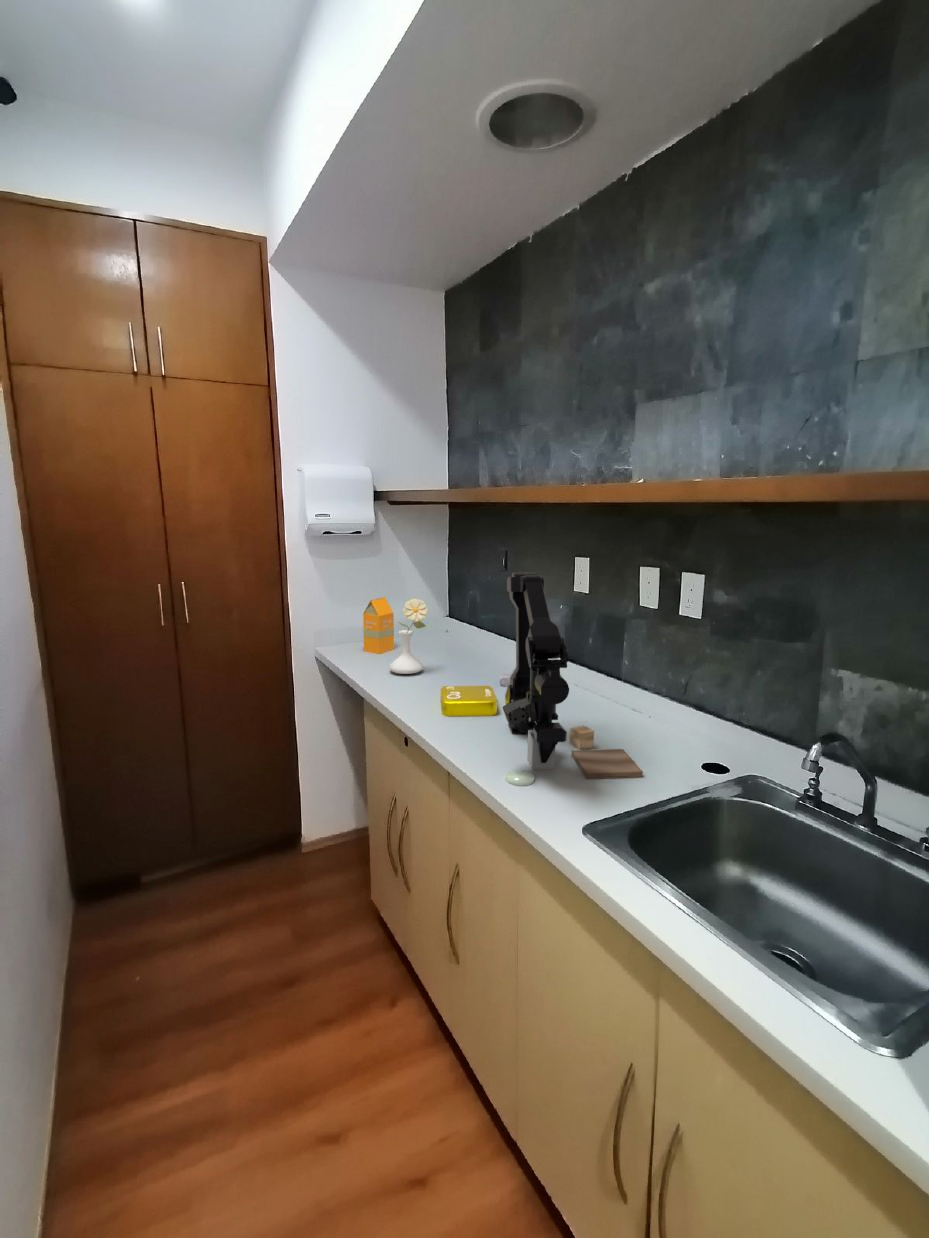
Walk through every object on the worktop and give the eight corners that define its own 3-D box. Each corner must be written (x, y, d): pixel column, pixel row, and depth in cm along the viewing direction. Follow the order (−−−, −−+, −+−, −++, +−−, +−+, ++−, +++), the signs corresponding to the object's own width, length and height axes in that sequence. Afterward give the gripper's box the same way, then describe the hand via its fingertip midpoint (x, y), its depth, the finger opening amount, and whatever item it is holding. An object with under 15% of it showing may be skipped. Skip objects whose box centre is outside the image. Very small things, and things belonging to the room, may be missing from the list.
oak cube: (569, 743, 149) (570, 727, 148) (583, 741, 151) (583, 725, 150) (579, 749, 145) (580, 733, 145) (593, 746, 147) (594, 730, 146)
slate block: (527, 759, 139) (528, 730, 138) (549, 759, 140) (550, 729, 138) (531, 769, 134) (532, 738, 133) (554, 768, 135) (555, 738, 133)
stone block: (543, 688, 198) (518, 676, 204) (546, 674, 197) (520, 663, 202) (522, 698, 189) (496, 686, 195) (525, 684, 188) (499, 672, 193)
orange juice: (394, 649, 239) (393, 598, 235) (379, 654, 232) (378, 601, 228) (378, 646, 243) (377, 596, 240) (363, 651, 236) (362, 599, 232)
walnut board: (571, 755, 142) (571, 750, 141) (622, 753, 143) (623, 748, 143) (586, 778, 130) (587, 773, 130) (642, 776, 131) (642, 771, 131)
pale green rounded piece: (503, 775, 132) (503, 770, 132) (530, 774, 133) (531, 769, 133) (507, 787, 126) (507, 783, 126) (536, 786, 127) (537, 782, 127)
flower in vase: (385, 676, 204) (384, 600, 199) (393, 666, 215) (392, 595, 210) (425, 677, 202) (424, 601, 197) (431, 668, 213) (430, 596, 209)
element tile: (497, 717, 168) (498, 699, 167) (442, 717, 166) (442, 700, 166) (491, 699, 182) (491, 683, 181) (440, 700, 181) (440, 684, 180)
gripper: (499, 677, 142) (498, 742, 145) (513, 704, 124) (512, 777, 127) (547, 676, 143) (545, 740, 146) (568, 702, 125) (565, 775, 128)
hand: (540, 757), depth 137 cm, fingers closed on slate block, 5 cm apart
